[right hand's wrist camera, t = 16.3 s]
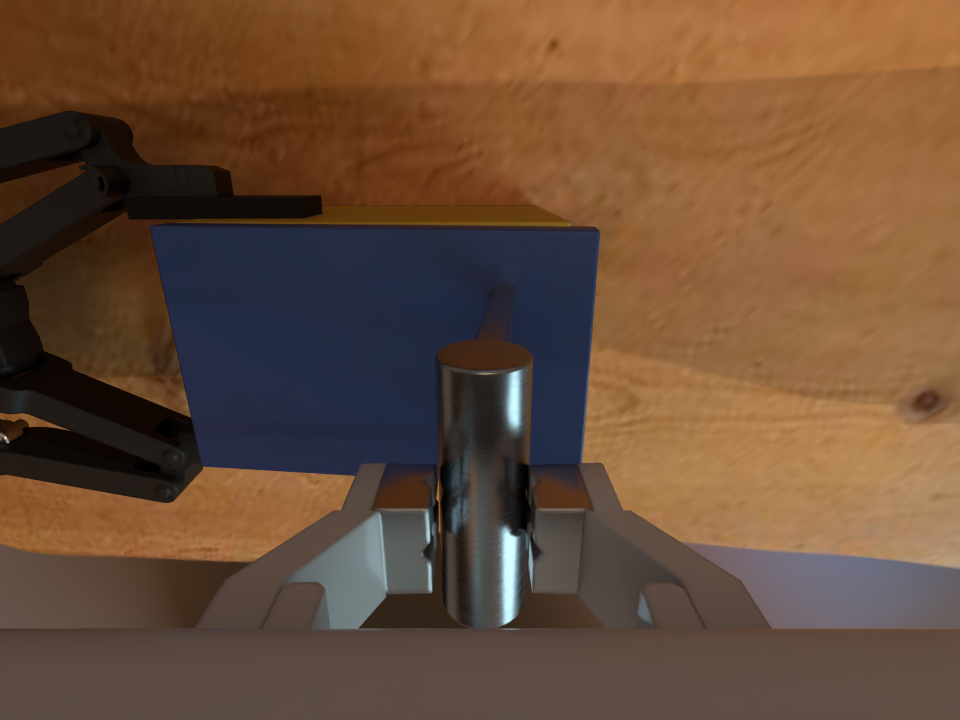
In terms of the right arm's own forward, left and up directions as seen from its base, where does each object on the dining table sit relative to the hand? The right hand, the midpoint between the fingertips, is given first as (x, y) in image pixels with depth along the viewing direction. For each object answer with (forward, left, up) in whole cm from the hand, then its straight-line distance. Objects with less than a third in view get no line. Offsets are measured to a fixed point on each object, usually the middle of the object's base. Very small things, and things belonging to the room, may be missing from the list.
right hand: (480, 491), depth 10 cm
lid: (+2, +3, -9) cm, 9 cm away
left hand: (+4, +6, -12) cm, 14 cm away
